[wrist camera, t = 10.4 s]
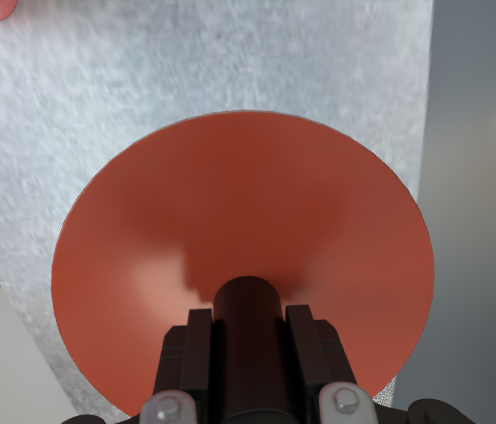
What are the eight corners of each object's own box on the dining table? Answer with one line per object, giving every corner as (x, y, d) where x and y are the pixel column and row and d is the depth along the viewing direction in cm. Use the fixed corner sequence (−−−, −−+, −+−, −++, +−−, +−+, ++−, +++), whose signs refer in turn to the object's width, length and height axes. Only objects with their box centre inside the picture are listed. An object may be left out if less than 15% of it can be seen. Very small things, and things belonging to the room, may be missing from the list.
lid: (89, 432, 19) (16, 643, 12) (28, 110, 14) (-150, 171, 7) (400, 416, 19) (492, 610, 13) (447, 102, 15) (634, 151, 8)
